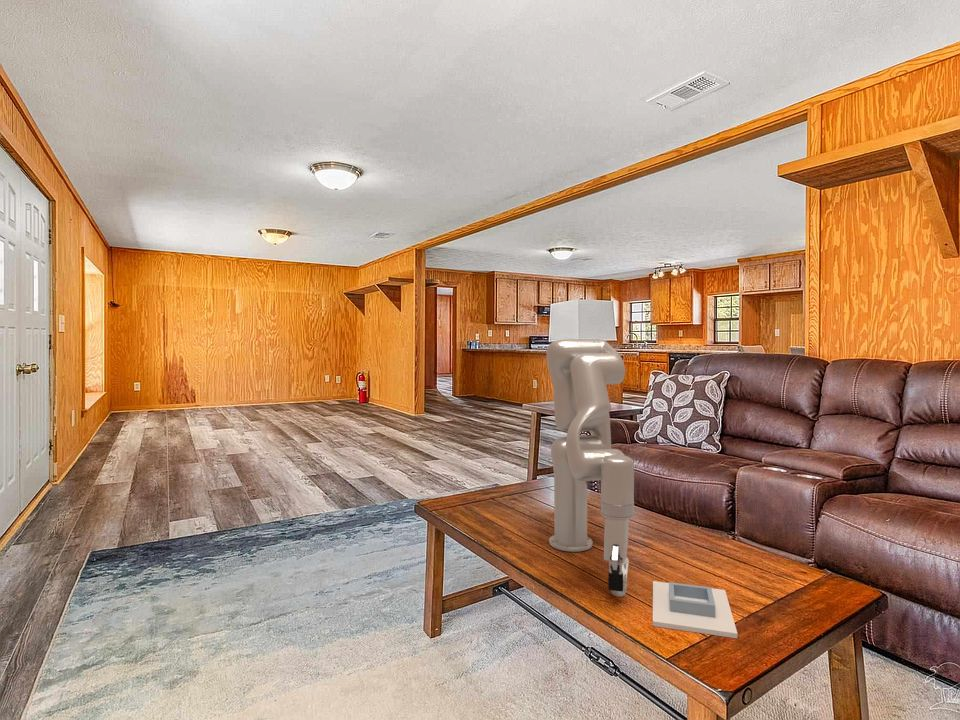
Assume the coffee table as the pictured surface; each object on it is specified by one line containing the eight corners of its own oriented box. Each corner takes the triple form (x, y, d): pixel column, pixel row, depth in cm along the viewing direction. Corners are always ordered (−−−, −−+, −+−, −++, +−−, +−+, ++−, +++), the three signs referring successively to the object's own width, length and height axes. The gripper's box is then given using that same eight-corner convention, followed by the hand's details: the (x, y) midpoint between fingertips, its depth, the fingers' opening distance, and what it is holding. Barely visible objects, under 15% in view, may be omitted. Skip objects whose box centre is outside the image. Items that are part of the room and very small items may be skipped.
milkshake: (610, 586, 130) (610, 545, 130) (631, 593, 126) (632, 550, 126) (602, 593, 126) (602, 551, 126) (623, 600, 123) (623, 556, 123)
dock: (652, 585, 130) (653, 570, 130) (724, 594, 126) (725, 579, 125) (652, 626, 111) (652, 609, 111) (737, 638, 107) (737, 621, 106)
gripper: (604, 497, 135) (604, 565, 136) (597, 518, 119) (597, 595, 119) (635, 500, 133) (635, 568, 133) (632, 522, 116) (632, 600, 117)
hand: (617, 581), depth 126 cm, fingers open, 9 cm apart
